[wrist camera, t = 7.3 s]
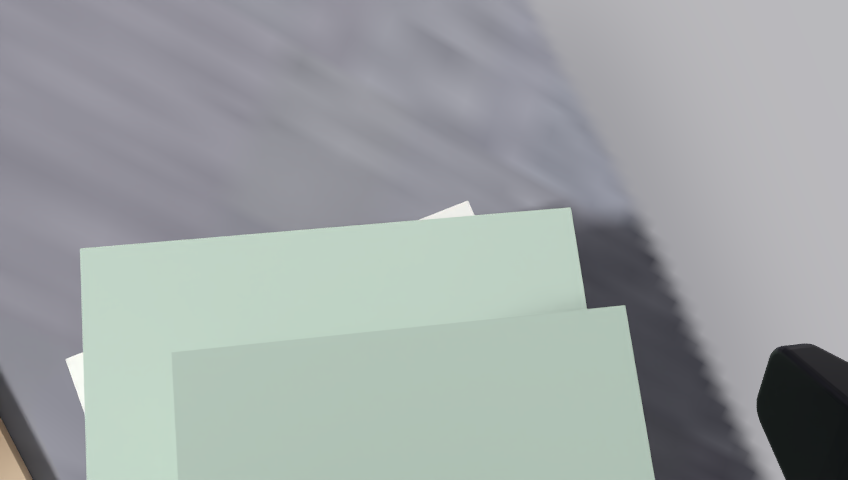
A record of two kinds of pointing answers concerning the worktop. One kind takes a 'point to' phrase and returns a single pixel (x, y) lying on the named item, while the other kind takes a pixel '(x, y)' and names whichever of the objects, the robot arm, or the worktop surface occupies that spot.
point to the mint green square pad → (11, 458)
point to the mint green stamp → (359, 357)
